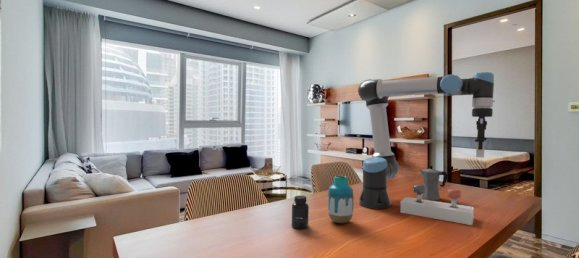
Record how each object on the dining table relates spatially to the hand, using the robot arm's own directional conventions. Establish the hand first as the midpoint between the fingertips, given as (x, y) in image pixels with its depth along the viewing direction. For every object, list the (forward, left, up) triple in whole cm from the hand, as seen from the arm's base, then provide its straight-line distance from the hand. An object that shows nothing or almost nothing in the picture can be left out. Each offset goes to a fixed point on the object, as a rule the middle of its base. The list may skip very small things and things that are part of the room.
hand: (480, 155), depth 126 cm
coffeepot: (-22, +19, -27) cm, 40 cm away
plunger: (-23, -11, -22) cm, 34 cm away
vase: (-47, -44, -27) cm, 70 cm away
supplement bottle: (-58, -58, -27) cm, 86 cm away
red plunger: (-9, -11, -22) cm, 27 cm away
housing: (-16, -11, -27) cm, 33 cm away
